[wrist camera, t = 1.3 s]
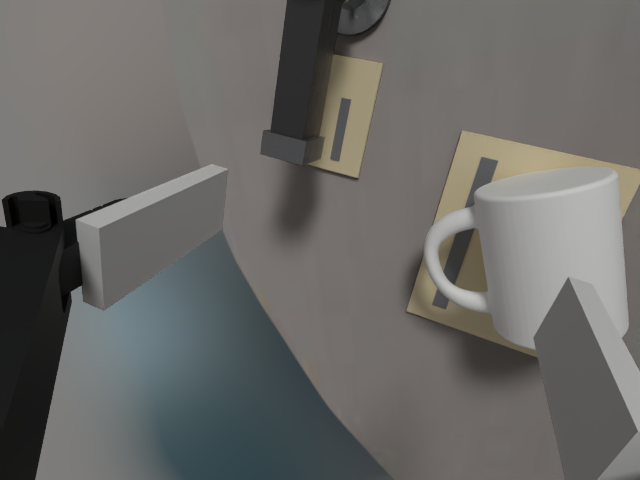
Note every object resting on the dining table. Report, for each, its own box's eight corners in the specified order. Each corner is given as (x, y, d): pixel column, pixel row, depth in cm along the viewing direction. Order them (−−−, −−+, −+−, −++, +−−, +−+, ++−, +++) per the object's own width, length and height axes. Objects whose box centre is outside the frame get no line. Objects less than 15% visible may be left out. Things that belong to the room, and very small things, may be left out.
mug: (601, 159, 27) (635, 180, 20) (611, 295, 30) (646, 355, 23) (422, 190, 33) (402, 214, 26) (443, 303, 35) (429, 354, 28)
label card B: (549, 360, 33) (550, 362, 33) (407, 309, 37) (406, 311, 36) (644, 170, 27) (646, 171, 27) (462, 130, 30) (462, 130, 30)
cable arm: (307, -68, 26) (282, -91, 23) (366, -63, 25) (349, -85, 22) (277, 147, 31) (254, 152, 28) (325, 160, 30) (307, 167, 27)
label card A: (358, 177, 34) (357, 178, 34) (285, 157, 36) (283, 158, 36) (383, 63, 31) (382, 63, 31) (301, 48, 33) (299, 47, 33)
